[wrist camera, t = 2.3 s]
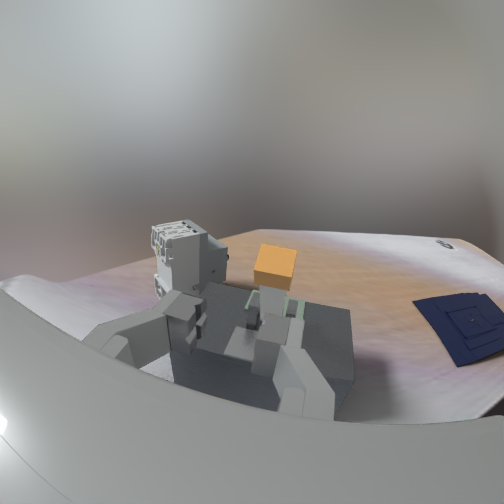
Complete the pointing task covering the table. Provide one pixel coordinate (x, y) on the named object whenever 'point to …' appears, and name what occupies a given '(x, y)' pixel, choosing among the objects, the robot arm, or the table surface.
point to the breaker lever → (273, 277)
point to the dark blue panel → (465, 324)
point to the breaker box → (243, 342)
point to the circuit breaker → (187, 258)
